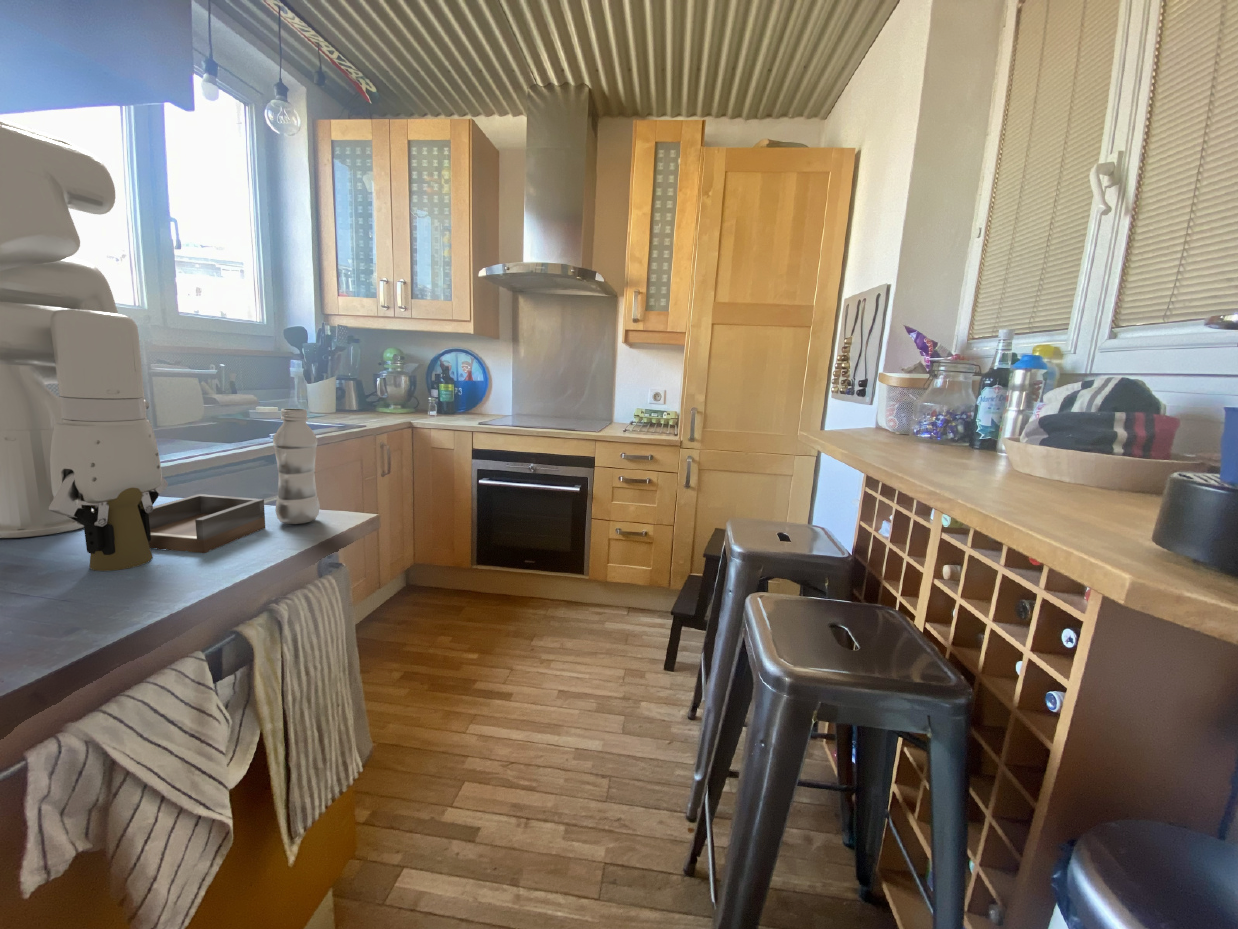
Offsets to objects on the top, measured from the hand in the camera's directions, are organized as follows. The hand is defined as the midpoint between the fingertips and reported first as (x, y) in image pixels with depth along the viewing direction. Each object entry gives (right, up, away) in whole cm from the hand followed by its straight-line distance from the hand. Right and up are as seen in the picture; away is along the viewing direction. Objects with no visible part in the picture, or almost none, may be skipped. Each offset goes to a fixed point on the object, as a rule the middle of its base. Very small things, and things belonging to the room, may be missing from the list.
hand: (120, 545), depth 66 cm
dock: (+2, 0, +11) cm, 11 cm away
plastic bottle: (+10, 0, +21) cm, 23 cm away
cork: (0, -2, 0) cm, 2 cm away
